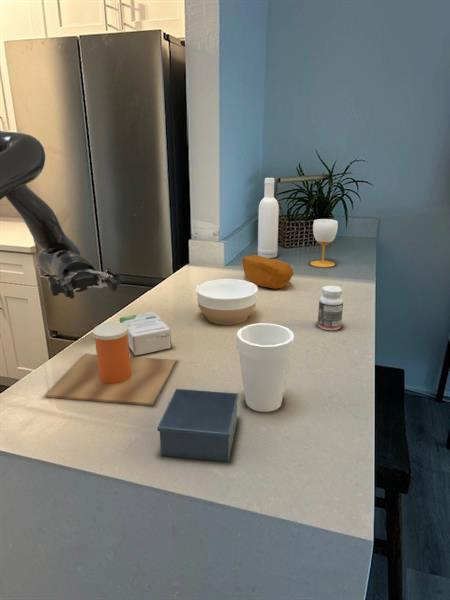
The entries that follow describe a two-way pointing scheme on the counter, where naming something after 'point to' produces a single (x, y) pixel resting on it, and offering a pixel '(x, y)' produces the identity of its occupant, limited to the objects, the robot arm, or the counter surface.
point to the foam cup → (264, 363)
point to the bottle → (268, 222)
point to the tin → (199, 425)
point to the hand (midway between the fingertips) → (93, 290)
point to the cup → (324, 238)
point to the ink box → (147, 333)
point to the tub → (112, 352)
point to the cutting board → (135, 390)
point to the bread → (266, 271)
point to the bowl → (226, 300)
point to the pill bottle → (330, 308)
